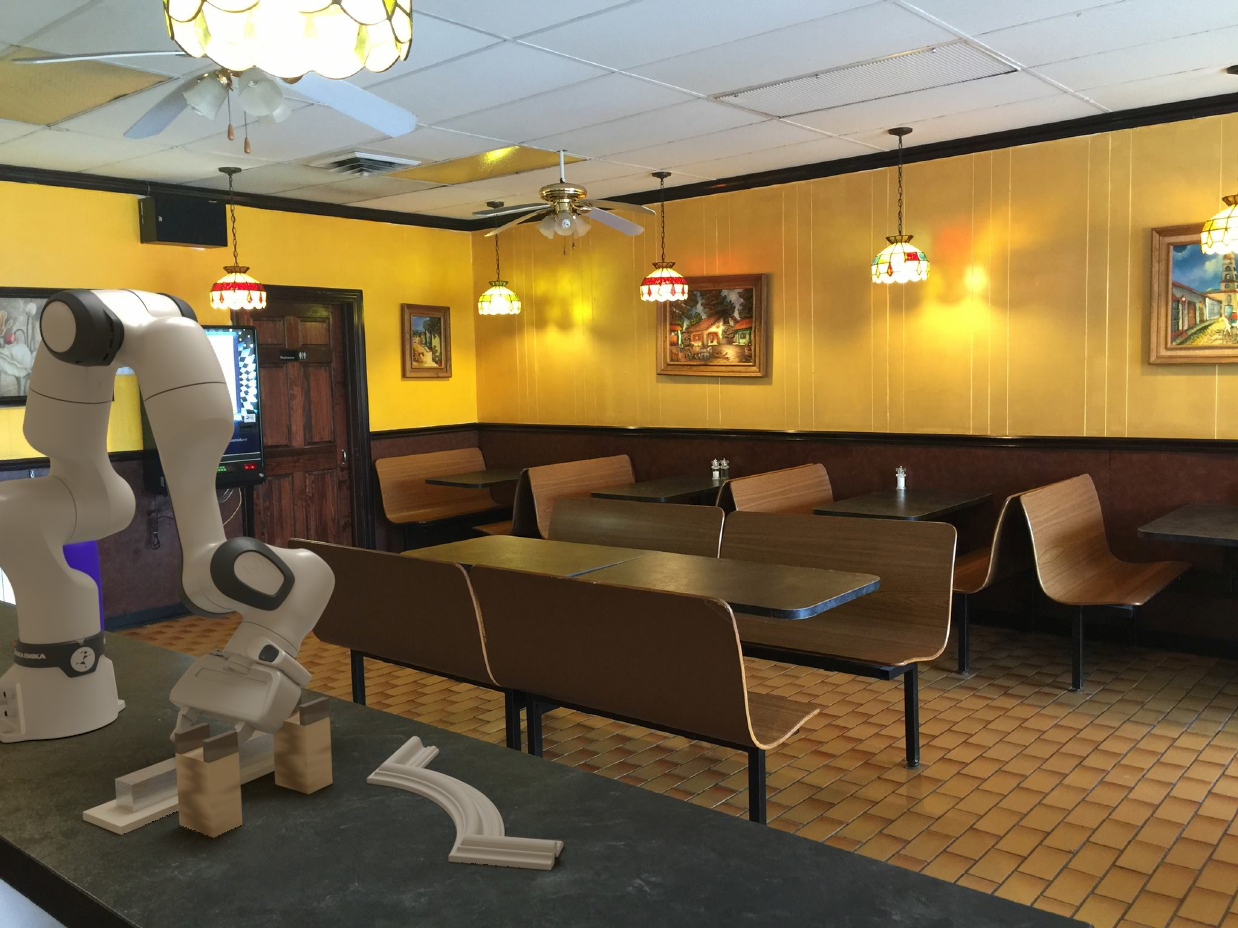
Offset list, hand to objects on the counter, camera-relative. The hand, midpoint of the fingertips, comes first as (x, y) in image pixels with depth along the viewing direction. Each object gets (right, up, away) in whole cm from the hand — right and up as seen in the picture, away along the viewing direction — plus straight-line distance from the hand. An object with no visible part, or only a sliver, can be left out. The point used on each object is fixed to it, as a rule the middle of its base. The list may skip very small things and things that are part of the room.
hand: (198, 748), depth 130 cm
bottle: (-50, 0, +64) cm, 81 cm away
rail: (0, -4, +1) cm, 4 cm away
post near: (+6, -6, -11) cm, 14 cm away
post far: (+13, -5, +1) cm, 14 cm away
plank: (0, -5, +1) cm, 5 cm away
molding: (+36, -6, -5) cm, 37 cm away
